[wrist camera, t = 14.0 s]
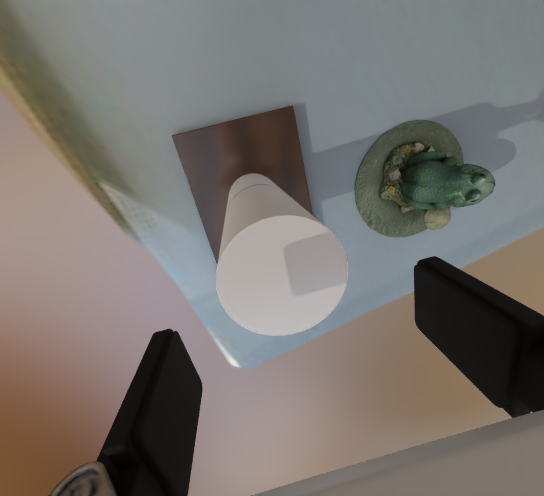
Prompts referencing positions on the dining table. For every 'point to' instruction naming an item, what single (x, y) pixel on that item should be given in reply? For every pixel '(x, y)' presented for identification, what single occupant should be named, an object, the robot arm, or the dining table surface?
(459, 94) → the dining table surface
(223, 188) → the board
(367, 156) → the frog figurine
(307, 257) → the cylindrical container
